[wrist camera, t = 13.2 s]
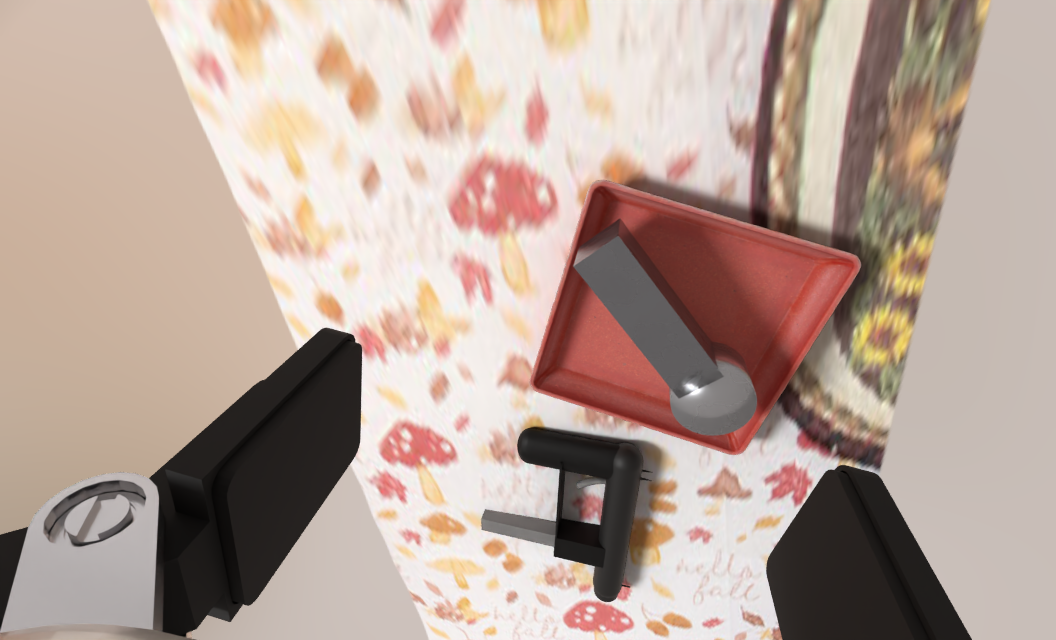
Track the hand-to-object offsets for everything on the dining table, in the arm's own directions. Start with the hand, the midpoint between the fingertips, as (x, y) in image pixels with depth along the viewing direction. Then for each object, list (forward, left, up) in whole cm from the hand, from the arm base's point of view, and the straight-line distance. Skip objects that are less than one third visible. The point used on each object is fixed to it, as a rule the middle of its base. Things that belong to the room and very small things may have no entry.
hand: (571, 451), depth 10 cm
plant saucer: (+10, +7, -29) cm, 31 cm away
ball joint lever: (+9, +6, -25) cm, 28 cm away
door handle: (+33, +3, -29) cm, 44 cm away
